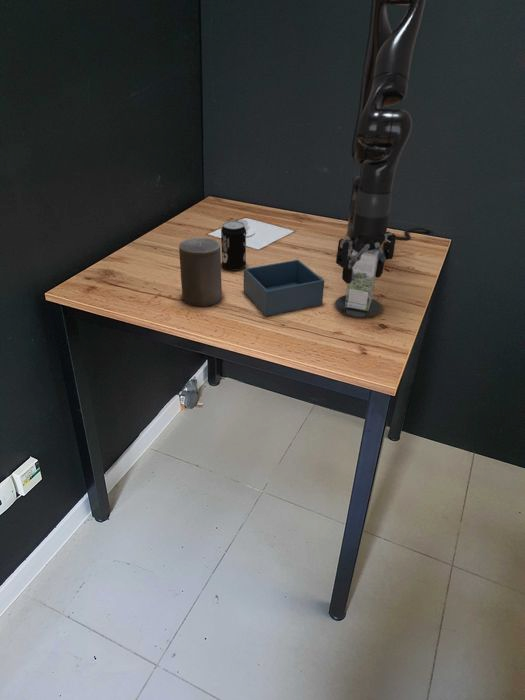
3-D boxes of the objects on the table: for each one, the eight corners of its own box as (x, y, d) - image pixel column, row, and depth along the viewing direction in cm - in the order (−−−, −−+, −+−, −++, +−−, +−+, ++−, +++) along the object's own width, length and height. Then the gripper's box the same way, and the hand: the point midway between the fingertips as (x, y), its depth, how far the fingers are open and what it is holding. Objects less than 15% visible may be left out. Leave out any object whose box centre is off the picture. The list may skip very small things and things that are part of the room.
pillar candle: (189, 309, 118) (185, 249, 110) (177, 291, 126) (173, 234, 117) (227, 302, 121) (226, 244, 113) (214, 285, 129) (212, 229, 120)
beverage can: (242, 272, 136) (242, 229, 129) (219, 269, 137) (218, 227, 130) (248, 262, 141) (248, 221, 135) (225, 260, 142) (224, 219, 136)
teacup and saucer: (241, 226, 165) (241, 214, 163) (261, 232, 161) (261, 219, 159) (224, 234, 159) (224, 221, 157) (244, 240, 155) (244, 227, 153)
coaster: (363, 293, 127) (364, 291, 127) (390, 313, 119) (390, 311, 119) (326, 301, 123) (326, 299, 123) (351, 322, 115) (351, 320, 115)
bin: (296, 282, 132) (298, 259, 128) (322, 304, 122) (324, 280, 118) (243, 292, 126) (243, 268, 123) (265, 316, 116) (266, 291, 113)
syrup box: (371, 301, 122) (381, 245, 114) (368, 312, 118) (377, 255, 110) (348, 297, 124) (356, 241, 116) (344, 308, 119) (351, 251, 111)
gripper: (353, 220, 103) (344, 291, 112) (409, 212, 108) (396, 280, 117) (334, 209, 108) (327, 277, 117) (388, 201, 113) (377, 268, 122)
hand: (361, 279), depth 117 cm, fingers closed on syrup box, 8 cm apart
